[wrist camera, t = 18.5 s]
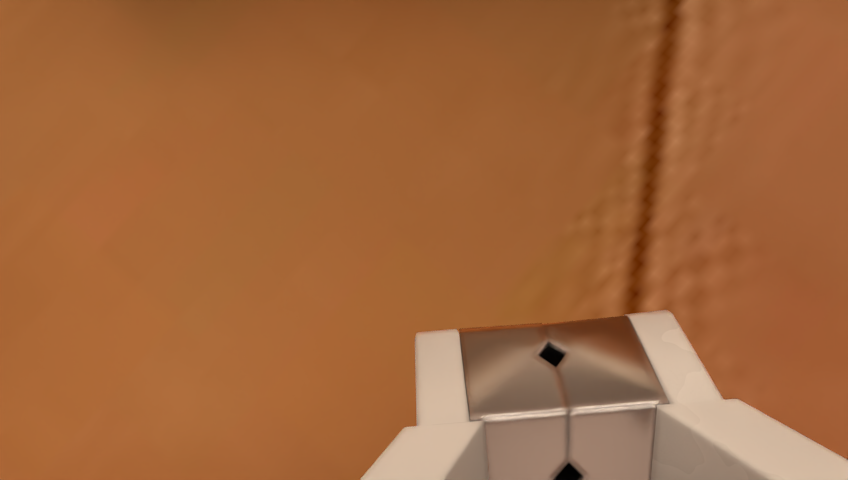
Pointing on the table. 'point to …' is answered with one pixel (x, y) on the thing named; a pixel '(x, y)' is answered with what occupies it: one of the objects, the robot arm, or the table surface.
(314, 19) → the table surface
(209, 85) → the table surface
